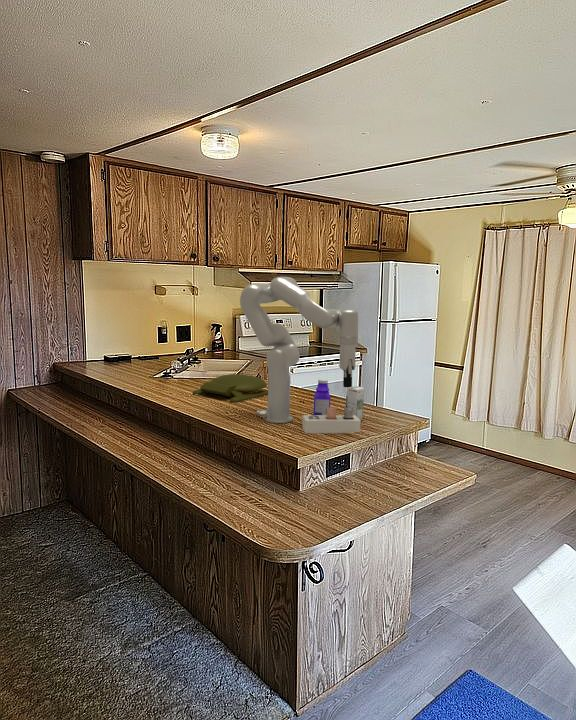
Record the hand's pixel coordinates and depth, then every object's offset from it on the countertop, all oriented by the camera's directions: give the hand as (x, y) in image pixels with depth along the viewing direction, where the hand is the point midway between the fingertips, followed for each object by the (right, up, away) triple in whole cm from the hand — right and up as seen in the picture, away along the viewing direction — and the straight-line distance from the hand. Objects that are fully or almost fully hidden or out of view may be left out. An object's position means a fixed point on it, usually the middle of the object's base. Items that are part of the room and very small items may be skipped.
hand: (347, 386), depth 214 cm
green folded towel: (-52, -8, +68) cm, 86 cm away
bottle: (-9, -15, +20) cm, 27 cm away
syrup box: (+5, -16, +20) cm, 25 cm away
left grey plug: (-14, -17, +2) cm, 22 cm away
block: (-7, -18, +2) cm, 19 cm away
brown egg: (-7, -14, +2) cm, 16 cm away
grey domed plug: (0, -14, +3) cm, 14 cm away
